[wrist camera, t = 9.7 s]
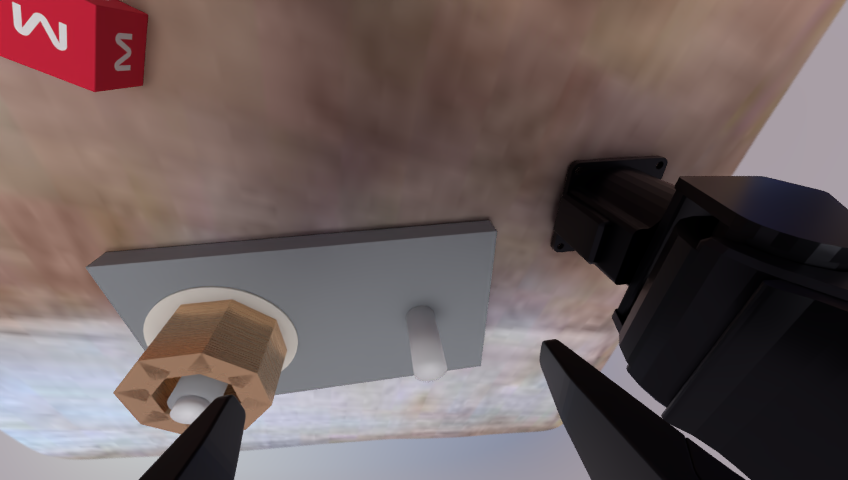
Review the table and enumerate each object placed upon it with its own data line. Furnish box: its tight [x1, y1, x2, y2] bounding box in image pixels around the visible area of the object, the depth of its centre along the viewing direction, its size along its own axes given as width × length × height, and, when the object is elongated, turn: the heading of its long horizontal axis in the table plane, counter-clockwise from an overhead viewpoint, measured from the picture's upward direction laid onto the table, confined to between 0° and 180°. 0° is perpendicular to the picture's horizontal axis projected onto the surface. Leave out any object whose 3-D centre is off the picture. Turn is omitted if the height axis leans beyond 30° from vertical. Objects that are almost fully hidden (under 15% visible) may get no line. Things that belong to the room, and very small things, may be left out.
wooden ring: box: [113, 299, 287, 434], centre depth 19 cm, size 7×7×4 cm
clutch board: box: [86, 220, 497, 424], centre depth 20 cm, size 23×13×7 cm, turn 91°
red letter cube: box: [0, 0, 148, 92], centre depth 12 cm, size 3×3×3 cm
